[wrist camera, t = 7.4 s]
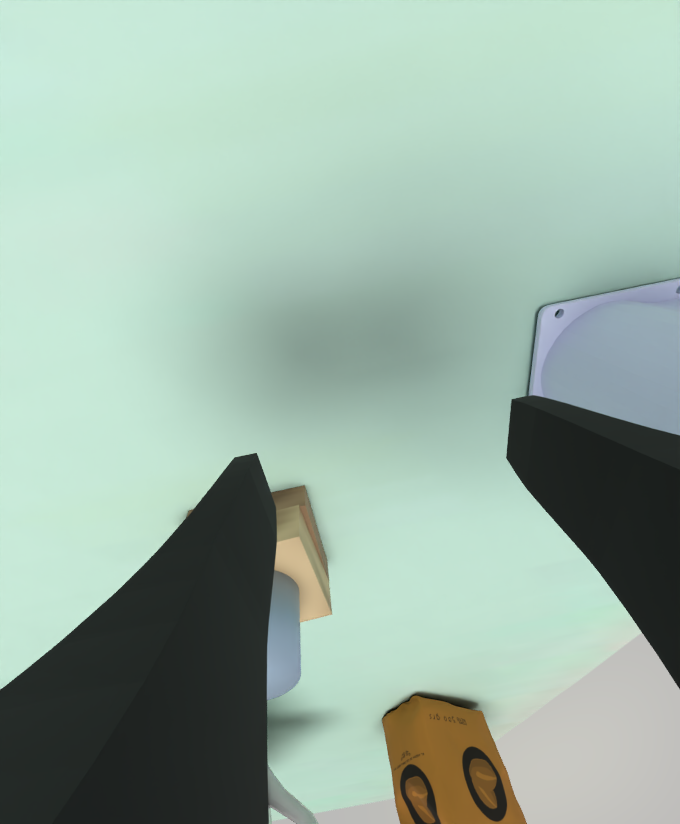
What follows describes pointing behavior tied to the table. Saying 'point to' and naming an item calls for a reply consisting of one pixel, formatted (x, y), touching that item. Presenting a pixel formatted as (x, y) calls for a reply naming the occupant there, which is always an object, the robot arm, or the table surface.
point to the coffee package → (447, 766)
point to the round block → (283, 637)
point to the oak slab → (302, 563)
